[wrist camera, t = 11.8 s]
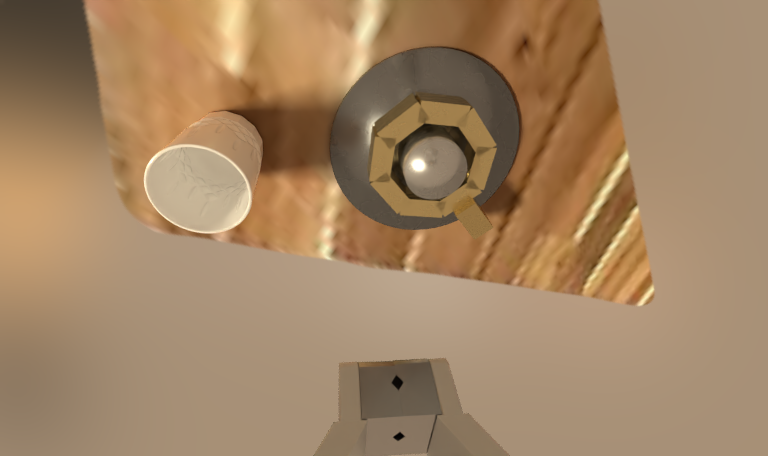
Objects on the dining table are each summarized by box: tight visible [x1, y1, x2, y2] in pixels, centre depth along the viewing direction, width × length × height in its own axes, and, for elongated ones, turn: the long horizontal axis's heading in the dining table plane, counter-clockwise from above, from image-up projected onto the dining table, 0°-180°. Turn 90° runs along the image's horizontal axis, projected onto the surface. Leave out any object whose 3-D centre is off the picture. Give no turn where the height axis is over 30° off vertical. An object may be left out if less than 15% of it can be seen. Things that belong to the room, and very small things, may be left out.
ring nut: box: [367, 92, 497, 239], centre depth 39 cm, size 16×12×4 cm
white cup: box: [144, 111, 263, 233], centre depth 34 cm, size 8×8×10 cm
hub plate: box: [330, 47, 519, 230], centre depth 38 cm, size 20×20×5 cm
